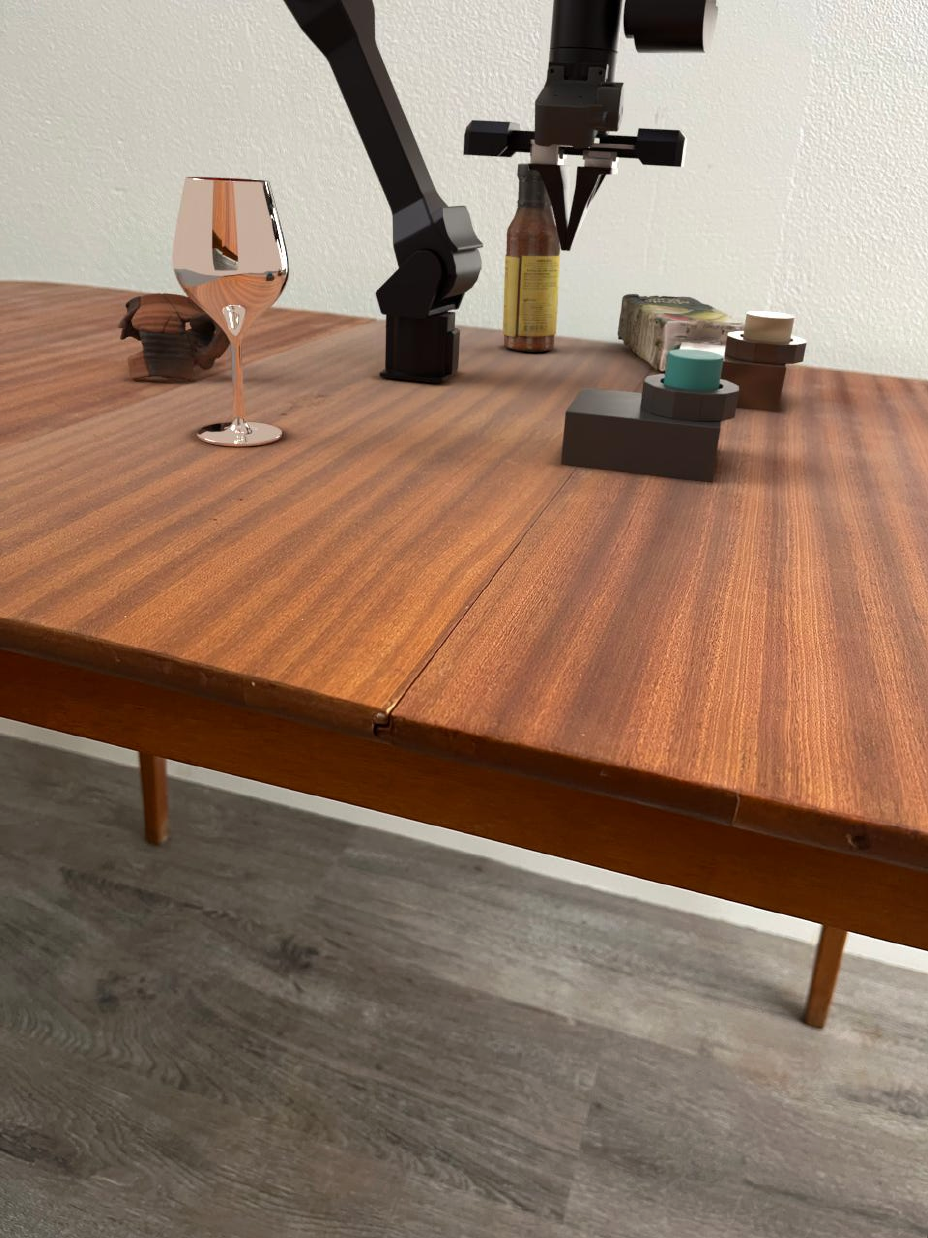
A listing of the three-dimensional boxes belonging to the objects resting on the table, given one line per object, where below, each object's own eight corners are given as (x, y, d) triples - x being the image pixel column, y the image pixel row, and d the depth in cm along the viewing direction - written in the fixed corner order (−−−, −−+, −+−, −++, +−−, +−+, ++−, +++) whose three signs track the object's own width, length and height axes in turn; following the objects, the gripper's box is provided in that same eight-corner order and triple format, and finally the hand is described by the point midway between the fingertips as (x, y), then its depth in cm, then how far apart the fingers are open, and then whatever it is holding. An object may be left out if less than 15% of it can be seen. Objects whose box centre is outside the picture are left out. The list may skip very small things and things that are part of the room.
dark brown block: (560, 464, 73) (568, 383, 71) (577, 435, 81) (585, 361, 79) (725, 484, 71) (739, 400, 68) (726, 452, 79) (739, 376, 76)
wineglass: (312, 430, 78) (308, 182, 71) (260, 455, 71) (250, 183, 64) (221, 417, 81) (208, 175, 73) (163, 440, 74) (141, 175, 66)
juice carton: (748, 376, 107) (757, 317, 105) (660, 375, 106) (667, 315, 103) (688, 345, 125) (695, 294, 123) (613, 343, 124) (618, 292, 121)
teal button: (661, 391, 72) (666, 356, 71) (665, 381, 75) (669, 347, 74) (717, 397, 71) (723, 361, 70) (718, 386, 74) (724, 352, 73)
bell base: (670, 400, 95) (679, 336, 92) (675, 382, 103) (684, 323, 100) (796, 413, 93) (809, 348, 90) (791, 394, 100) (803, 333, 98)
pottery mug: (97, 383, 91) (94, 296, 92) (159, 410, 100) (156, 331, 101) (211, 362, 87) (207, 271, 88) (265, 391, 96) (261, 309, 97)
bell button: (742, 343, 93) (746, 315, 92) (742, 336, 97) (746, 309, 96) (790, 347, 92) (795, 319, 91) (788, 340, 96) (793, 313, 95)
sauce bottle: (563, 349, 117) (580, 165, 109) (538, 355, 113) (554, 164, 104) (515, 341, 120) (528, 162, 112) (489, 347, 116) (500, 160, 107)
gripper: (451, 37, 77) (443, 249, 84) (693, 44, 74) (664, 266, 80) (483, 51, 87) (473, 240, 94) (698, 59, 84) (672, 255, 90)
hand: (566, 250), depth 89 cm, fingers closed
